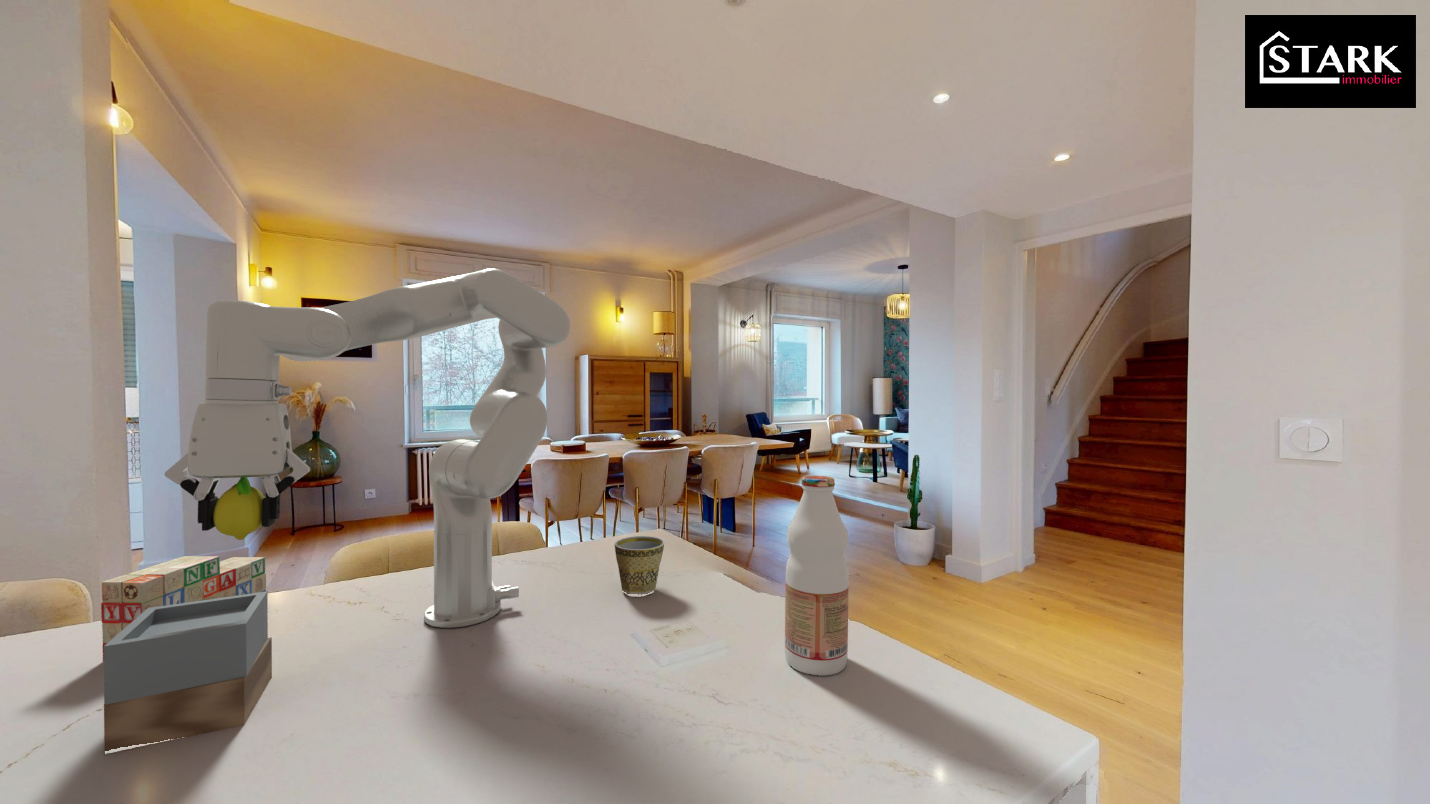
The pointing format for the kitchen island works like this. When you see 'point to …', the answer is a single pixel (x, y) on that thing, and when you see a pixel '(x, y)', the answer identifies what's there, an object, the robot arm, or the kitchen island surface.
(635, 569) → the ceramic cup
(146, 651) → the tower top block
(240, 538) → the lemon
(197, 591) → the stack of blocks
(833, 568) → the fruit juice
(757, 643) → the kitchen island surface
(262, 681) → the tower base block
